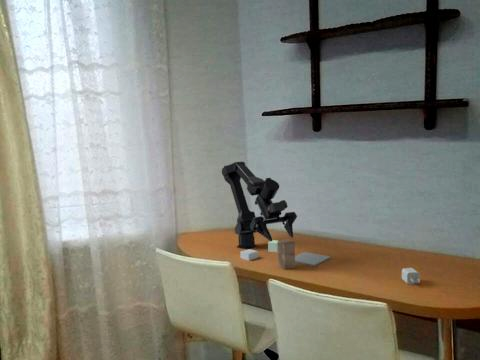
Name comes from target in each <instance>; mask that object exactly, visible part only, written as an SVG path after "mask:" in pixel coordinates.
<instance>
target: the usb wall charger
mask: <svg viewBox="0 0 480 360" xmlns="http://www.w3.org/2000/svg"><path fill="white" fill-rule="evenodd" d="M401 279H402V280H403V282H405V284H407V285H415V284H414V283H419V284H420V282H421V279H420V272H419V271H417V270H416V269H414V268H413V267H406V268H404V267H403V268H402V269H401Z"/></svg>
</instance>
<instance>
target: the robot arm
mask: <svg viewBox="0 0 480 360" xmlns="http://www.w3.org/2000/svg"><path fill="white" fill-rule="evenodd" d="M221 175H222V176H223V178H224V181H225V182H226V183H228V185H229V186H230V190H231V193H232V196H233V199H234V202H235V206H236V209H237V213H238V215H237V217H236V222H237V223H236V225H235V227H234V233H235V234H236V235H238V245H236V248H240V249H245V250H248V249H251V248H255V247H256V246H257V244H256V243H255V242H256V241H255V240H256V239H255V236H254V235H255V234H256V233H258V234H260V235H261V236H263V237H264V238H266V239H267V240H268V242H269V241H272V240H273V238H272V235H271V233H270V231H269V229H268V227H267V225H272V224H278V223H281V224H283V228H284V230H285V231H286V232H287V234H288V235H289V237H290V238H291V239H293V237H294V229H293V224H294V223H295V221H296V220H297V218H298V215H297V213H296V212H295V211H287V212H285V213H284V215H283V216H281V215H282V212H283V211H285V210H286V209H287V208H288V203H287V201H286V199H284V200H280V201H278V202H273V199H274V198H275V197H276V195H277V193H278V191H279V189H280V184H279V182H278V181H276V180H274V179H272V178H271V177H266V178H265V180H264V179H263V178H260V177H258V176H256V175H255V174H254V173H253V172H252V171H251V170H250V169H249V168H248V166H247V165H246V163H245V161H234V162H232V163H229V164H227V165H224V166H223V167H222V168H221ZM241 179H242V180H243V181H244V183H245V184H246V186H247V187H246V190H247V192H248V193H249V195H250V196H251V197H253V196H256V198H255V201H254V205H257V206H258V208H259V210H260V213H259V214H260V216H256V214H255V212H254V211H251V210H250V209H249V205H248V202H247V199H246V195H245V193H244V188H243V186H242V183H241ZM254 233H255V234H254Z"/></svg>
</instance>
